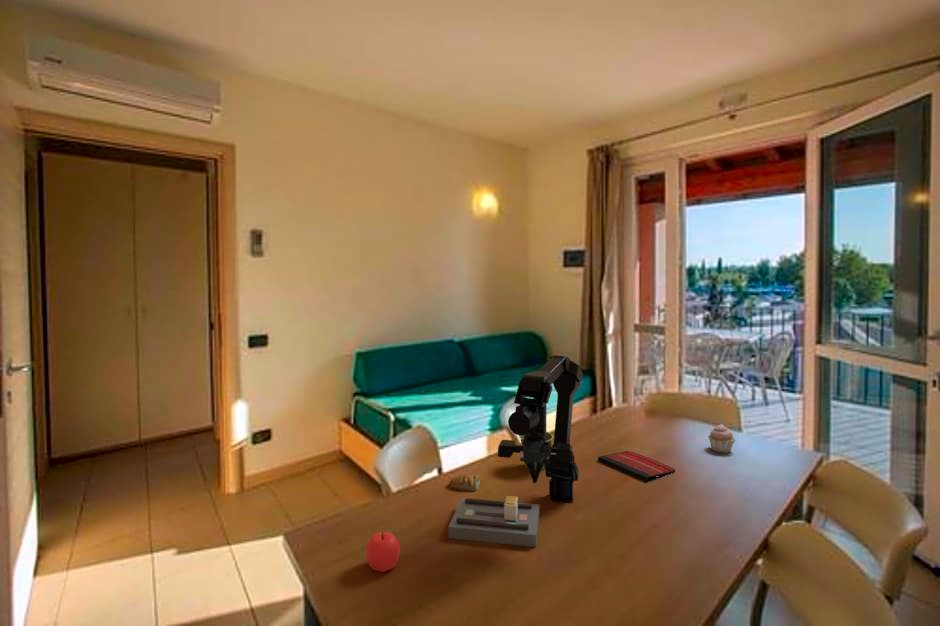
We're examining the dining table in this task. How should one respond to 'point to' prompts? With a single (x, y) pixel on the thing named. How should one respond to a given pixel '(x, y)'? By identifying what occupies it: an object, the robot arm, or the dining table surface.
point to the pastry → (465, 482)
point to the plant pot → (548, 439)
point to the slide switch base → (494, 523)
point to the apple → (383, 551)
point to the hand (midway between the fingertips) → (535, 482)
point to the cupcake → (721, 439)
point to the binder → (636, 465)
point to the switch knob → (511, 508)
